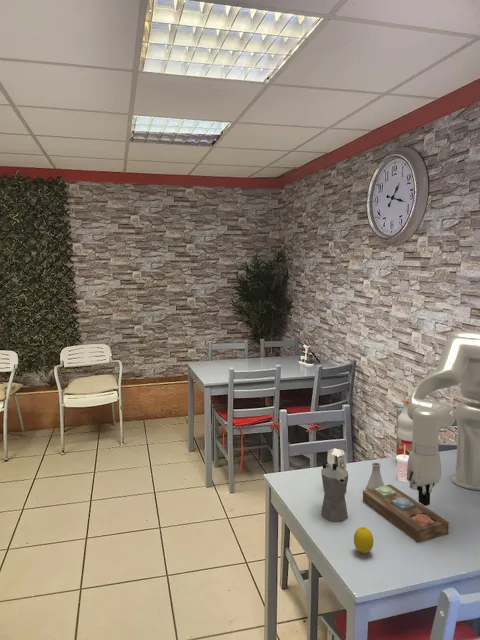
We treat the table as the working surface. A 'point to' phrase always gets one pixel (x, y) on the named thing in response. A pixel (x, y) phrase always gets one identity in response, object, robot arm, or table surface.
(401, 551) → the table surface
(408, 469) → the robot arm
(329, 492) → the coffeepot
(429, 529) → the button panel
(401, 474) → the beverage cup
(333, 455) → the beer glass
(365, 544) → the lemon
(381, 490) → the sage green button
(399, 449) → the fruit juice
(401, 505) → the slate blue button
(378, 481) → the flask
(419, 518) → the terracotta button
